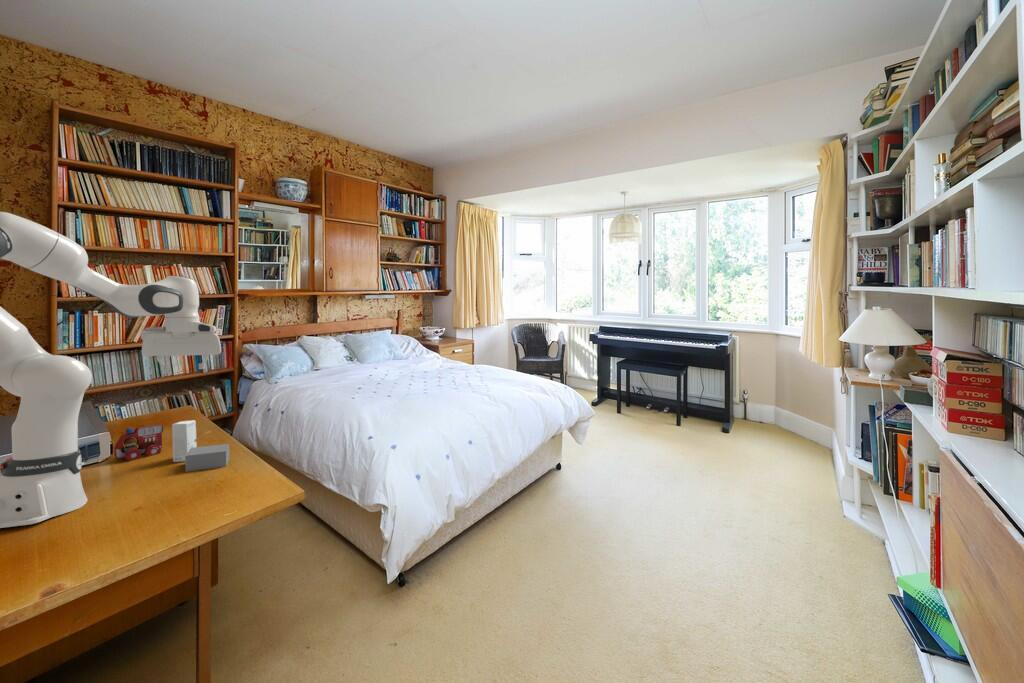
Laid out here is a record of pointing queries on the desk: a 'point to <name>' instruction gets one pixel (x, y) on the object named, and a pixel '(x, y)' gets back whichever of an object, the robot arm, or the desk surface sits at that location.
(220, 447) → the gray riser
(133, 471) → the desk surface
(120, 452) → the toy fire truck
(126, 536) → the desk surface
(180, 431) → the skincare box
